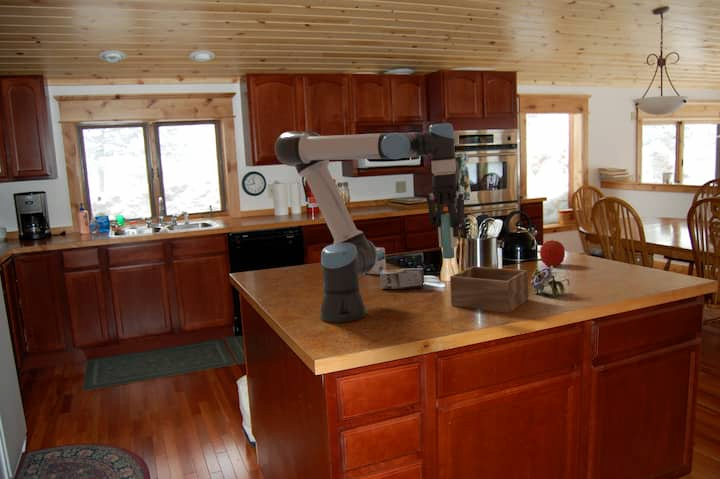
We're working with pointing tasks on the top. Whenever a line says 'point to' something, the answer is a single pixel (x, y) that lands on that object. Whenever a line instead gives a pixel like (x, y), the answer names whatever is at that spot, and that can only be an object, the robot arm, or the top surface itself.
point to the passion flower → (546, 281)
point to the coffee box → (402, 278)
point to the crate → (489, 288)
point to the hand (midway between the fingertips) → (448, 246)
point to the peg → (446, 236)
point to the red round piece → (552, 253)
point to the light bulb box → (379, 262)
